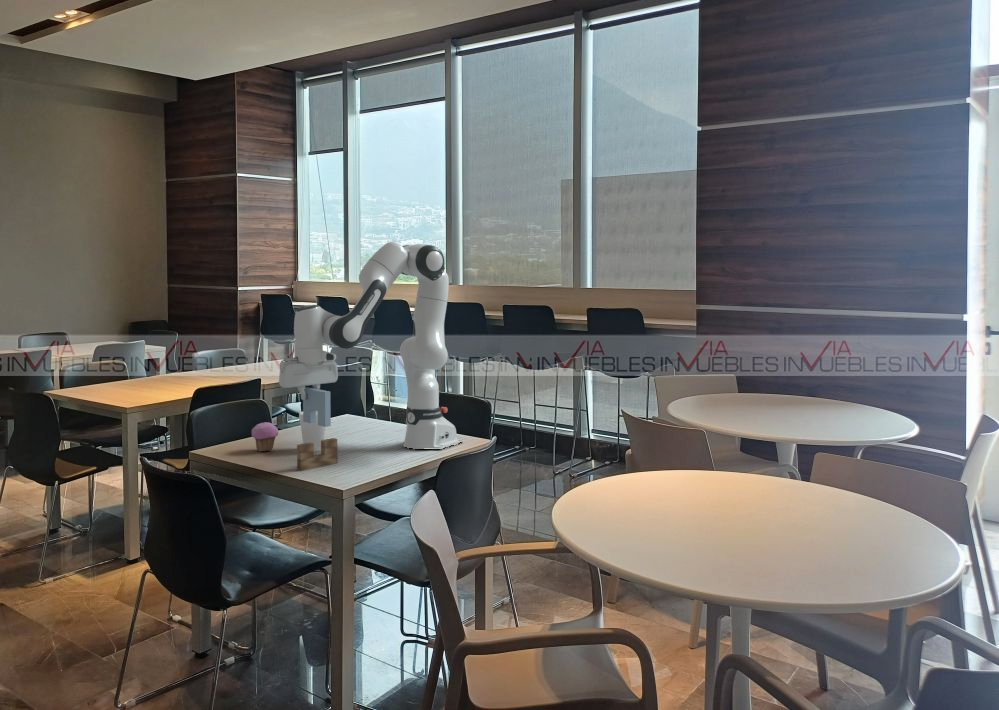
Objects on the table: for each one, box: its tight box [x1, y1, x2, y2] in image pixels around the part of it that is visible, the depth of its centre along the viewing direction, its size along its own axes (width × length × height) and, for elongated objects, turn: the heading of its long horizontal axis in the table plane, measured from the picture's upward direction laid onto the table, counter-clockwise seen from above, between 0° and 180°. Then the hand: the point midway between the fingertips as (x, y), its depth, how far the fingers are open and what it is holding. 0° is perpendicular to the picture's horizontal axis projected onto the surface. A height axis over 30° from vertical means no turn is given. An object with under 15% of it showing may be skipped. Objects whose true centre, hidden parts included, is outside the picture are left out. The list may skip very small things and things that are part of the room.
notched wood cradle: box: [296, 437, 339, 472], centre depth 251 cm, size 14×2×8 cm, turn 138°
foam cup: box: [298, 411, 326, 452], centre depth 274 cm, size 10×9×13 cm
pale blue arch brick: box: [302, 386, 332, 428], centre depth 249 cm, size 12×2×11 cm, turn 48°
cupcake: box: [251, 421, 279, 452], centre depth 271 cm, size 9×9×10 cm
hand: (309, 398), depth 251 cm, fingers closed on pale blue arch brick, 2 cm apart
